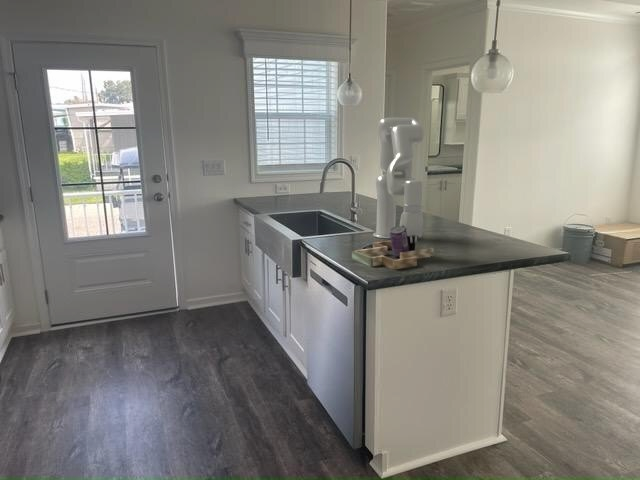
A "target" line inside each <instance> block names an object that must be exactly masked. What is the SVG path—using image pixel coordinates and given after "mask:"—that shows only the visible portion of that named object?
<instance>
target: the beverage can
mask: <svg viewBox="0 0 640 480" xmlns="http://www.w3.org/2000/svg"><path fill="white" fill-rule="evenodd" d="M389 239H390V240H391V246H392V248H391V250H392V255H393V256H394V257H398V258H400V253H401V252H408V251H409V246H408V239H407V233H406V231H405V228H404V227H402V226H400V225H398V226H396V225H395V227H393V228H391V229H390V238H389ZM390 240H389V241H390Z"/></svg>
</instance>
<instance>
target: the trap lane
mask: <svg viewBox="0 0 640 480" xmlns="http://www.w3.org/2000/svg"><path fill="white" fill-rule="evenodd" d="M390 249H391V250H392V246H391V240H385V241H377V242H372V248H371V247H370V248H364V249H357V250H352V251H351V260H354V261H356V262H359V263H360V264H362V265H363V264H364V265H366V266H368V267H371V268H372V267H377V266H384V267H386V268H388V269H391V270H400V269H405V268H411V267H417V266H418V259H419V260H420V259H424V258H432V257H434V251H435V250H434V248H433V247H430V248H422V249H421V248H420V249H415V250H414V251H408V252H401V253H400V257H399V258H398V259H394V258H391V257H389V256H386V255H388V250H390ZM431 256H432V257H431Z"/></svg>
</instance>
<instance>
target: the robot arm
mask: <svg viewBox="0 0 640 480" xmlns="http://www.w3.org/2000/svg"><path fill="white" fill-rule="evenodd" d="M377 129H378V130H377V131H378V136H379V140H380V156H379V167H380V170H381V171H383V172H386V174H384V173H383V174H381V175H379V176H377V177H376V180H375V187H376V200H377V201H376V202H377V203H376V229H375V232H373V234H372V235H373V237H375V238H379V239H390V229H391V228H393V227H396V218H397V217H396V214H397V212H396V211H397V202H396V199H395V198H394V197H396V196H398V197H401V196H403V212H401V215H400V220H399V226H402V227H404V228H405V231H406V233H407V239H408V246H409V251H414V250H416V243H417V242H418V240H419V238H422V236H423V233H424V215H423V212H422V209H423V206H422V205H423V181H422V180H420V179H417V178H412V174H413V159H414V151H413V145H412V144H417V145H418V144H421V143H422V142H423V140H424V136H425V135H424V130H423V127H422V125H421V124H420V123H419V122H418V121H417V120H416V119H415V118H414V117H384V118H382V119H380V120H379V121H378V127H377ZM397 172H398V173H399V174H397Z"/></svg>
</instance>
